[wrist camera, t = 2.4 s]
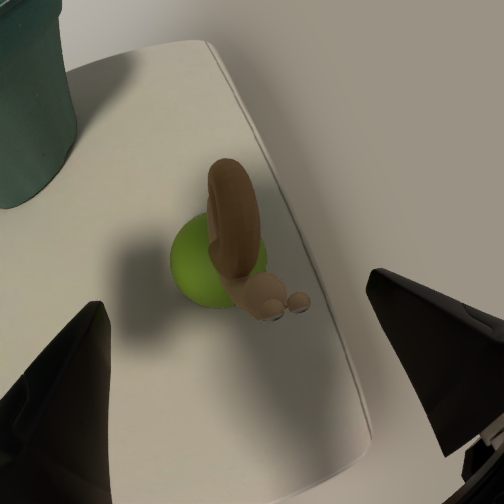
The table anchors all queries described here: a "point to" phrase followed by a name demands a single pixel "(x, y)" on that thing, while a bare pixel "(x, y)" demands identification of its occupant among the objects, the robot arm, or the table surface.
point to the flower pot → (32, 99)
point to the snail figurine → (230, 252)
